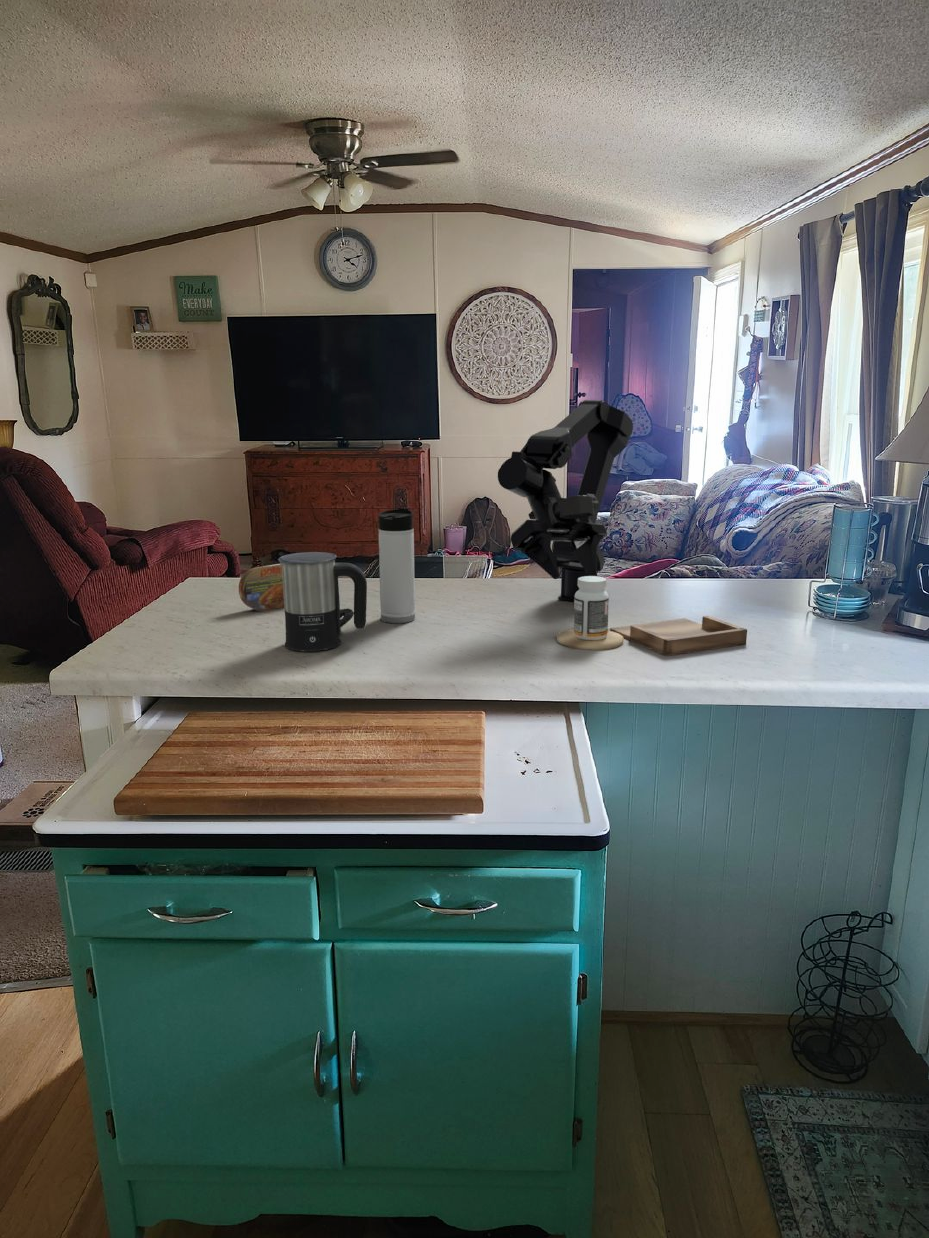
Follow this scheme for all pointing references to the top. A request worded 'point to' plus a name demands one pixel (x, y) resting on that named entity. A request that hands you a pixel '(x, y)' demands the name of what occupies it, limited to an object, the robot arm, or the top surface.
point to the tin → (262, 588)
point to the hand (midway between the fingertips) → (576, 577)
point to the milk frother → (318, 600)
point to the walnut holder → (684, 635)
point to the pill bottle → (591, 608)
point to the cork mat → (590, 641)
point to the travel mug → (396, 565)
